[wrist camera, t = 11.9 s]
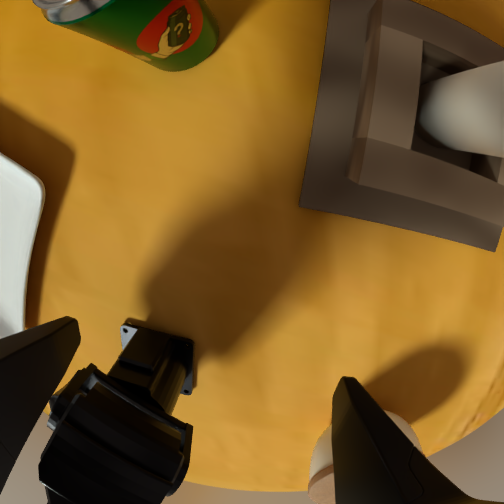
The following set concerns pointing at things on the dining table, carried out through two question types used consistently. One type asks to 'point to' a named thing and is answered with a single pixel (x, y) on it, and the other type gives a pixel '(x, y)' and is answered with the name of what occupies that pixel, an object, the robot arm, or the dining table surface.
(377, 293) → the dining table surface
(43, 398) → the robot arm
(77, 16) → the soda can
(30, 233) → the salad plate
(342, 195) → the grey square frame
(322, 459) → the lidded jar
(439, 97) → the cream peg
